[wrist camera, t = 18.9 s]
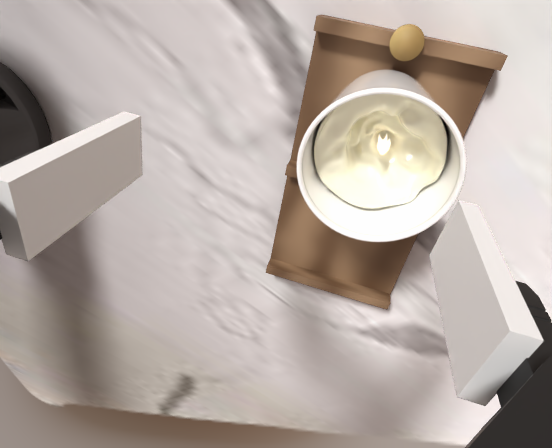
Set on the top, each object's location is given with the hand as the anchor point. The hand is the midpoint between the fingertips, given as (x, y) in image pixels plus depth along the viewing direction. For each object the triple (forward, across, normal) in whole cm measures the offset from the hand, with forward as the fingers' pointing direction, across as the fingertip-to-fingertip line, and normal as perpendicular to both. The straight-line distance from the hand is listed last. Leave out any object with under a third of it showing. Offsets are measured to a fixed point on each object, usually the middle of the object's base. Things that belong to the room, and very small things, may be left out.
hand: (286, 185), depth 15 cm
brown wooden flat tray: (+21, +5, -8) cm, 23 cm away
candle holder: (+20, +5, -2) cm, 20 cm away
